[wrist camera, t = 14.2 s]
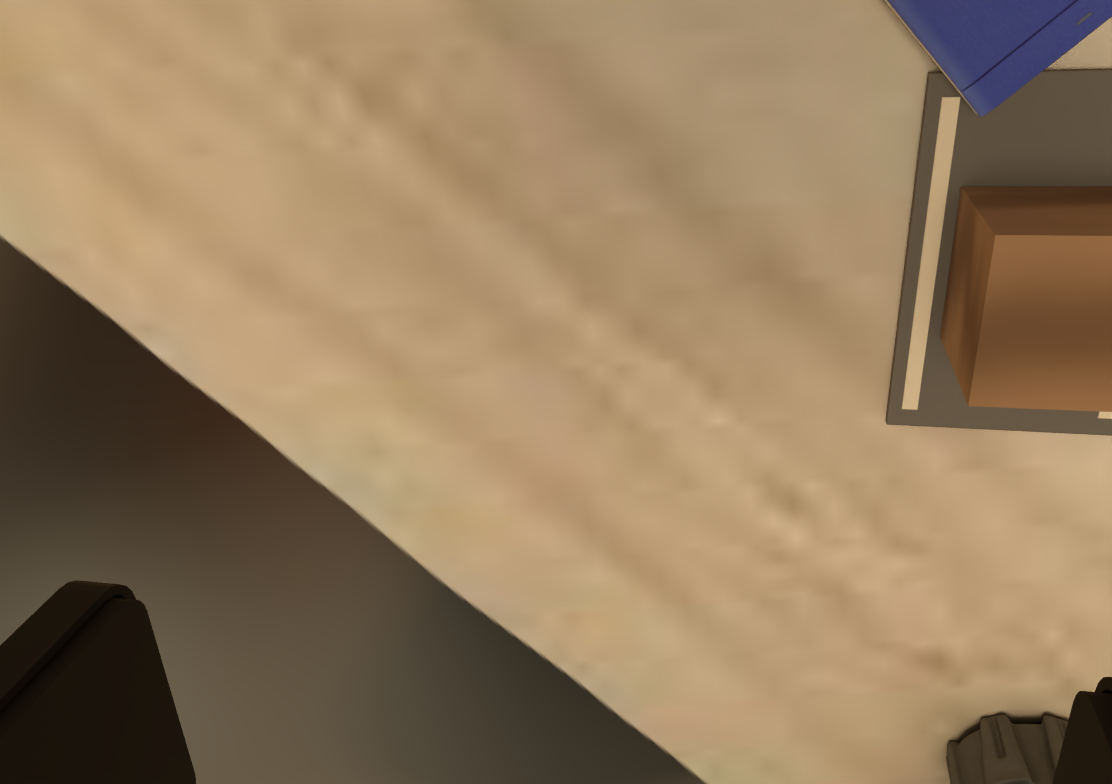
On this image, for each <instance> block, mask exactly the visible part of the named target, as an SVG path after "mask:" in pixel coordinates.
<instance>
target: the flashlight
mask: <svg viewBox="0 0 1112 784" xmlns="http://www.w3.org/2000/svg"><path fill="white" fill-rule="evenodd" d="M1067 725H1068V722H1067V721H1065V720H1062V719H1058V718H1055V717H1053V716H1048V715H1045V716H1043V718H1042V723H1041V724H1013V723H1011V722H1010V720H1009V719H1008V717H1007V716H1005V715H997V716H992V717H987V718H983V719H981V721H980V729H979V730H978V731H975V732H973V733H971V734H970V735H968V736H967V737H965V738H964V739H963V740H962V741H961V742H960V743H959V742H955V741H953V742H950V743H949V744H948V747H947V756H946V762H947V767H948V772H949V777H950V782H951V784H1052V783H1053V779H1054V775H1055V771H1056V767H1057V763H1058V760H1059V756H1060V752H1061V748H1062V744H1063V740H1064V736H1065V732H1066V729H1067Z"/></svg>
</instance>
